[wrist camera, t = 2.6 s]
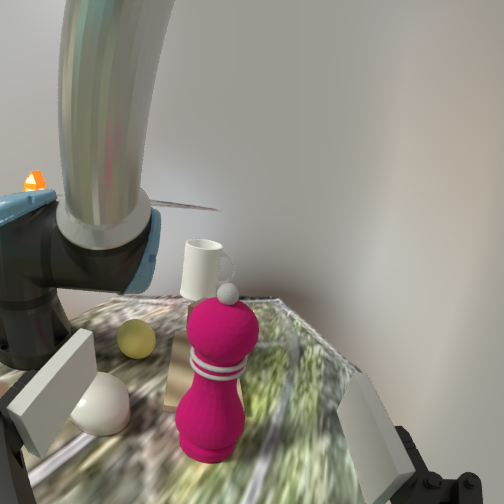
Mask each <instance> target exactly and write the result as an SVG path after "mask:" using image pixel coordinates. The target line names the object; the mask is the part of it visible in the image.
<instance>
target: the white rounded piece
mask: <svg viewBox="0 0 504 504" xmlns="http://www.w3.org/2000/svg"><path fill="white" fill-rule="evenodd" d="M130 416H131V412H130V404H129V395H128V390H127V388H126V386H125V384H124V383H123V382H122V381H121V380H120V379H118V378H117V377H115V376H113V375H111V374H108V373H104V372H98V374H97V376H96V377H95V379H94V380H93V382H92V383H91V385H90V386H89V387H88V389H87V390H86V392H85V393H84V395H83V396H82V398H81V399H80V401H79V402H78V404H77V405H76V407H75V408H74V410H73V411H72V413H71V415H70V419H71V421H72V423H73V424H74V425H75V426H76V427H77V428H78V429H79V430H81V431H83V432H85V433H87V434H90V435H94V436H109V435H113V434H115V433H118V432H120V431H121V430H122V429H124V428H125V427H126V425H127V424H128V422H129V420H130Z"/></svg>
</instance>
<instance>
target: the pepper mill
mask: <svg viewBox="0 0 504 504" xmlns="http://www.w3.org/2000/svg"><path fill="white" fill-rule="evenodd" d="M238 299H239V290H238V288H237V287H236V286H235V285H234V284H231V283H225V284H222V285H221V286H220V287H219V288H218V291H217V297H213V298H209V299H206V300H204V301H202V302H201V303H199V304H198V305H197V306H196V307H195V308H194V309H193V310H192V312H191V313H190V316H189V319H188V322H187V337H188V340H189V342H190V344H191V345H192V347H191V351H190V353H191V356H190V364H191V367H192V368H193V369H194V378H193V383H192V386H191V387H190V389H189V390H188V391H187V392H186V394H185V395H184V396H183V397H182V399H181V400H180V402H179V404H178V406H177V409H176V416H175V422H176V426H177V429H178V431H179V432H180V434H179V441H180V446H181V448H182V450H183V451H184V452H185V453H186V454H187V455H188V456H189V457H191V458H193V459H194V460H197V461H200V462H204V463H215V462H220V461H222V460H224V459H226V458H228V457H229V456H230V455H231V453H232V452H233V450H234V447H235V442H236V440H237V439H238V438H239V437H240V436H241V434H242V432H243V429H244V422H245V415H244V409H243V406H242V403H241V400H240V398H239V395H238V392H237V379H238V377H239V376H241V375H242V374H243V373H244V371H245V369H246V363H247V360H248V356H247V354H248V353H250V352H251V351H252V350H253V348H254V347H255V345H256V343H257V340H258V334H259V326H258V321H257V318H256V316H255V314H254V312H253V311H252V310H251V309H250V308H249V307H248V306H247V305H246V304H244V303H243V302H241V301H239V300H238Z"/></svg>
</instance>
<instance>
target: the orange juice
mask: <svg viewBox="0 0 504 504" xmlns="http://www.w3.org/2000/svg"><path fill="white" fill-rule="evenodd" d="M44 189H45V181H44V179H43V176H42V174H41V172H40V171H32V172H31V173H30V175H29V176H28V178H27V180H26V181H25V184H24V192H26V191H33V190H44Z"/></svg>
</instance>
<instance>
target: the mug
mask: <svg viewBox="0 0 504 504" xmlns="http://www.w3.org/2000/svg"><path fill="white" fill-rule="evenodd" d="M222 248H223V246H222V245H221V244H219V243H217V242H214V241H210V240H204V239H191V240H188V241H187V242H186V247H185V256H184V266H183V275H182V285H181V289H180V294H181V296H182V297H184V298H185V299H188V300H190V301H194V302H195V301H197V300H199V299H201V298H203V297H205V298H208V299H209V298H213V297H217V292H216V291H217V286H221V285H222V284H225V283H228V282H229V281H230V280H231V279H232V278H233V276H234V274H235V263H234V260H233V259H232V257H231V256H230V255H229V254H227V253H226V252H224V251H222ZM221 256H223V257H226V258H228V259H229V260H230V261H231V262H232V265H233V273H232V275H231V276H230V277H229V278H228V279H226V280H224V281H218V276H219V268H220V262H221Z"/></svg>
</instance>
